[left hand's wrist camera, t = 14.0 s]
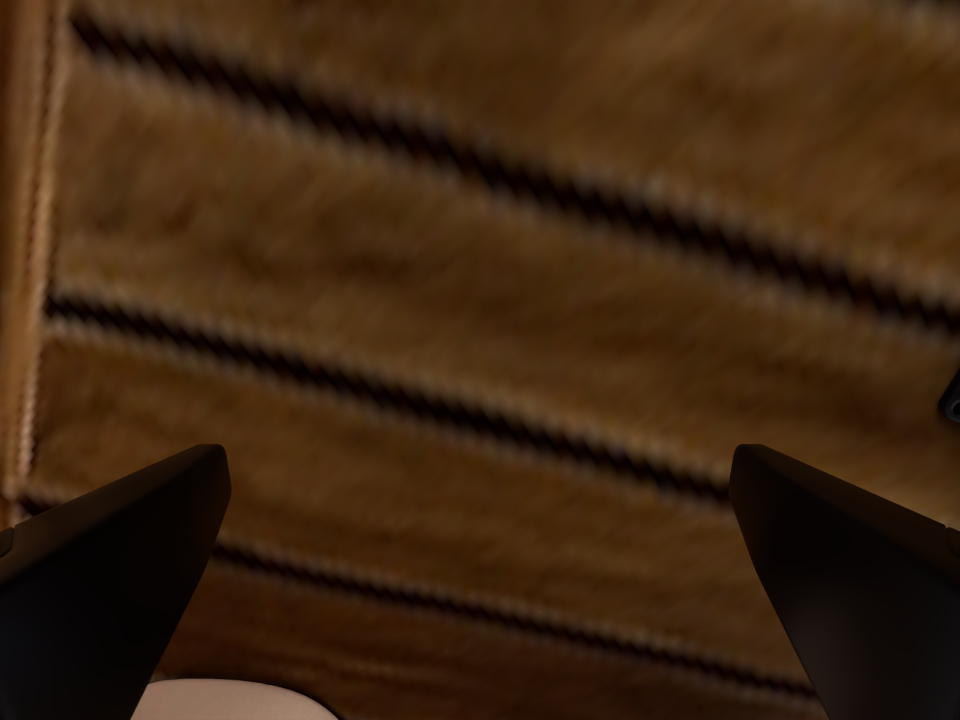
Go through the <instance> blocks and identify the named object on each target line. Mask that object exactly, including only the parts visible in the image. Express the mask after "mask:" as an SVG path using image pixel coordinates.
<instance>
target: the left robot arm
mask: <svg viewBox="0 0 960 720" xmlns="http://www.w3.org/2000/svg"><path fill="white" fill-rule="evenodd" d="M959 402H960V369H959V370H958V372H957V374H956V375H955V377H954V378H953V380H952V382H951V383H950V385H949V386H948V388H947V390H946V391H945V393H944V394H943V396H942V397H941V399H940V401H939V404H938V410H939V411H940V413H941V414H943V415H944V416H946V417H947V418H949V419H951V420H952V421H956V422H959V423H960V404H959V406H958V407H957V408H955V409H953V407H954V406H955V405H956V404H957V403H959ZM230 497H231V480H230V474H229V468H228V462H227V456H226V451H225V449H224V447H223V446H222V445H219V444H199V445H196V446H193V447H191V448H189V449H187V450H184V451H182V452H180V453H178V454H175V455H173V456H171V457H169V458H166V459H164V460H162V461H159V462H157V463H155V464H153V465H150V466H148V467H146V468H144V469H141V470H139V471H137V472H134V473H132V474H130V475H128V476H125V477H123V478H121V479H119V480H116V481H114V482H112V483H110V484H107V485H105V486H103V487H100V488H98V489H96V490H94V491H91V492H89V493H87V494H85V495H82V496H80V497H78V498H76V499H73V500H71V501H69V502H66V503H64V504H62V505H60V506H57V507H55V508H53V509H51V510H48V511H46V512H44V513H41V514H39V515H37V516H35V517H32V518H30V519H28V520H26V521H23V522H21V523H19V524H17V525H15V527H14V528H12V527H10V528H7V529H5V530H3V531H0V720H131V718H132V716H133V714H134V712H135V710H136V708H137V706H138V704H139V702H140V700H141V698H142V696H143V694H144V692H145V690H146V688H147V686H148V684H149V682H150V680H151V678H152V676H153V674H154V672H155V670H156V668H157V666H158V664H159V662H160V660H161V658H162V656H163V653H164V651H165V649H166V647H167V645H168V643H169V641H170V639H171V637H172V635H173V633H174V631H175V629H176V627H177V625H178V623H179V621H180V619H181V617H182V615H183V613H184V611H185V609H186V607H187V605H188V603H189V601H190V599H191V597H192V595H193V593H194V591H195V589H196V587H197V585H198V583H199V581H200V579H201V577H202V574H203V572H204V570H205V567H206V565H207V562H208V560H209V557H210V554H211V551H212V549H213V546H214V543H215V540H216V537H217V535H218V532H219V529H220V526H221V523H222V520H223V518H224V515H225V512H226V509H227V506H228V503H229V501H230ZM729 497H730V501H731V503H732V506H733V509H734V512H735V515H736V518H737V520H738V523H739V526H740V529H741V532H742V535H743V537H744V540H745V543H746V546H747V549H748V551H749V554H750V557H751V560H752V562H753V565H754V567H755V570H756V572H757V574H758V577H759V579H760V581H761V583H762V585H763V587H764V589H765V591H766V593H767V595H768V597H769V599H770V601H771V603H772V605H773V607H774V609H775V611H776V613H777V615H778V617H779V619H780V621H781V623H782V625H783V627H784V629H785V631H786V633H787V635H788V637H789V639H790V641H791V643H792V645H793V647H794V649H795V652H796V654H797V656H798V658H799V660H800V662H801V664H802V666H803V668H804V670H805V672H806V674H807V676H808V678H809V680H810V682H811V684H812V686H813V688H814V690H815V692H816V694H817V696H818V698H819V700H820V702H821V704H822V706H823V708H824V710H825V712H826V714H827V716H828V718H829V720H960V531H957V530H955V529H953V528H950V527H948V528H946V527H945V525H943V524H941V523H939V522H937V521H934V520H932V519H930V518H928V517H925V516H923V515H921V514H919V513H916V512H914V511H912V510H909V509H907V508H905V507H903V506H900V505H898V504H896V503H894V502H891V501H889V500H887V499H884V498H882V497H880V496H878V495H875V494H873V493H871V492H869V491H866V490H864V489H862V488H860V487H857V486H855V485H853V484H850V483H848V482H846V481H844V480H841V479H839V478H837V477H835V476H832V475H830V474H828V473H826V472H823V471H821V470H819V469H816V468H814V467H812V466H810V465H807V464H805V463H803V462H801V461H798V460H796V459H794V458H791V457H789V456H787V455H785V454H782V453H780V452H778V451H776V450H773V449H771V448H769V447H767V446H764V445H761V444H741V445H738V446H737V447H736V449H735V451H734V456H733V462H732V468H731V474H730V480H729Z"/></svg>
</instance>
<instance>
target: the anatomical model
mask: <svg viewBox="0 0 960 720" xmlns="http://www.w3.org/2000/svg"><path fill="white" fill-rule="evenodd" d="M131 720H338V719H337V718H336V717H335V716H334V715H333V714H332V713H330V712H329V711H328V710H327V709H326V708H325V707H323V706H322V705H320V704H319V703H317V702H316V701H314V700H312V699H310V698H308V697H306V696H304V695H302V694H299V693H297V692H294V691H292V690H288V689H285V688H281V687H278V686H273V685H267V684H262V683H257V682H248V681H240V680H225V679H177V680H163V681H159V682H154V683H151V684H148V686H147V688H146V690H145V692H144V694H143V696H142V698H141V700H140V702H139V704H138V706H137V708H136V710H135V712H134V714H133V716H132V718H131Z"/></svg>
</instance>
